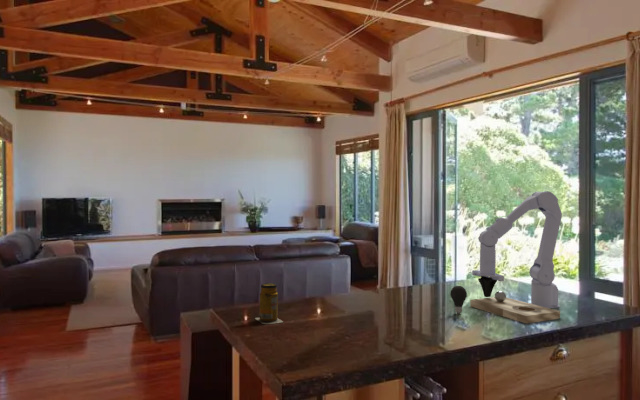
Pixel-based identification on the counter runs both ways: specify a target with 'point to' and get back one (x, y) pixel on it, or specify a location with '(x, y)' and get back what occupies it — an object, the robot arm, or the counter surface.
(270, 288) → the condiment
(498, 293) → the ball
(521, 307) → the deck
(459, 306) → the light bulb
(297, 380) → the counter surface
